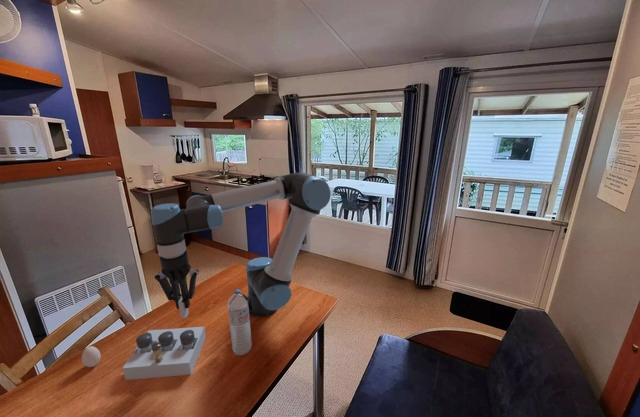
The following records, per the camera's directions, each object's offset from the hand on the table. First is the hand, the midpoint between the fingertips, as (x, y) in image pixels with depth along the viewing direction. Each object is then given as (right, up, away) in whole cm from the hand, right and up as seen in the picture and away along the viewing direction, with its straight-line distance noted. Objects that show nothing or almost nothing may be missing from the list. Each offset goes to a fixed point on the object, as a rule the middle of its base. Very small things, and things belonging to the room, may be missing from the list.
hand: (185, 315), depth 88 cm
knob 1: (-14, -15, +3) cm, 21 cm away
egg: (-31, -17, 0) cm, 36 cm away
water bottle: (+17, -16, +8) cm, 24 cm away
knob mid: (-8, -15, +3) cm, 17 cm away
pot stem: (-7, -13, -3) cm, 15 cm away
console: (-8, -16, +4) cm, 18 cm away
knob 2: (-1, -15, +4) cm, 15 cm away
